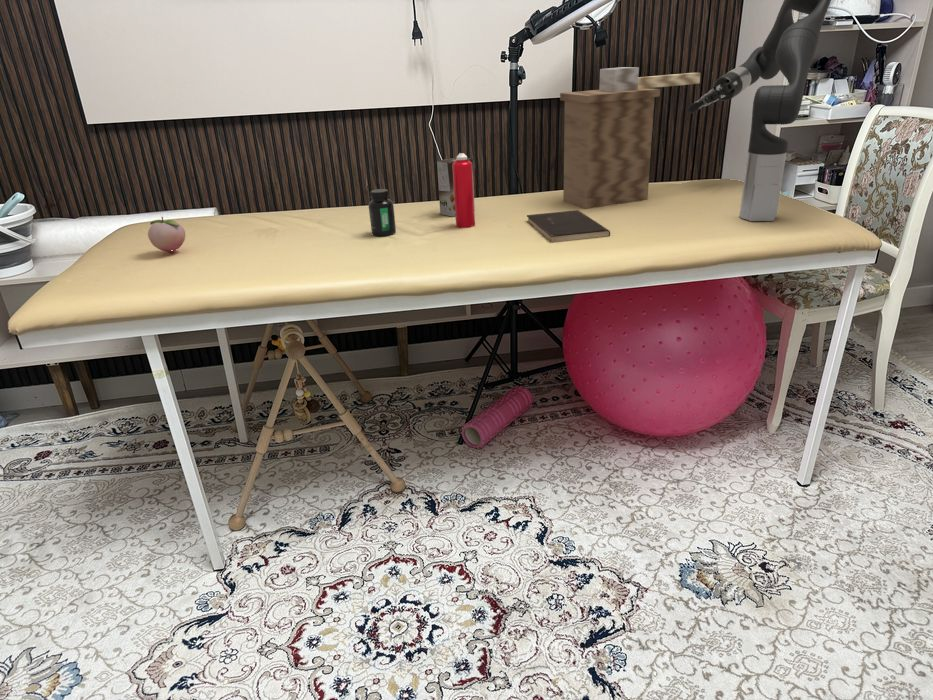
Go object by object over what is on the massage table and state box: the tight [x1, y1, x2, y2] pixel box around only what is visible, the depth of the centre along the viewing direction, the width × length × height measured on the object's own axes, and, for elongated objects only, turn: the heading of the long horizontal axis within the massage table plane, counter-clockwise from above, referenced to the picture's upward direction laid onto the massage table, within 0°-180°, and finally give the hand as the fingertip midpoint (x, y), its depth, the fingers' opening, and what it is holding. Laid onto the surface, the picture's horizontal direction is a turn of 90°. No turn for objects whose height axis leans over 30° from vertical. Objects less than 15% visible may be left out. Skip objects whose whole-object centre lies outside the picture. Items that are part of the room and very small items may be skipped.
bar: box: [598, 66, 702, 92], centre depth 189 cm, size 32×8×6 cm, turn 111°
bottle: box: [452, 152, 476, 229], centre depth 177 cm, size 5×5×20 cm
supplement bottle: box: [368, 188, 397, 238], centre depth 175 cm, size 7×7×12 cm
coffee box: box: [436, 157, 476, 218], centre depth 192 cm, size 9×6×16 cm
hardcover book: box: [526, 209, 611, 243], centre depth 172 cm, size 16×23×2 cm
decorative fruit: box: [147, 216, 186, 254], centre depth 169 cm, size 9×8×10 cm
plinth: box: [559, 88, 661, 210], centre depth 193 cm, size 24×16×32 cm, turn 111°
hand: (699, 104), depth 193 cm, fingers open, 8 cm apart
